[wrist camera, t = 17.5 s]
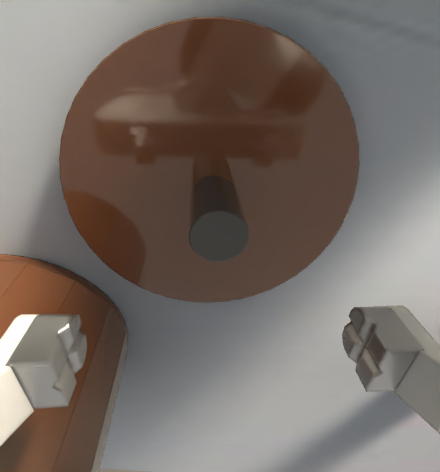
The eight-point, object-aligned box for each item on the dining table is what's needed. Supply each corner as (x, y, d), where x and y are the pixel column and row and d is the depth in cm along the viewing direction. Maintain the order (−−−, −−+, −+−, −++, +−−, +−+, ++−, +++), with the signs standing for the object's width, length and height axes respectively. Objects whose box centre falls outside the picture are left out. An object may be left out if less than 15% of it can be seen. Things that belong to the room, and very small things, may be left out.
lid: (143, -82, 11) (106, -176, 6) (408, 142, 16) (488, 176, 12) (33, 232, 17) (-22, 292, 13) (246, 317, 23) (258, 380, 18)
